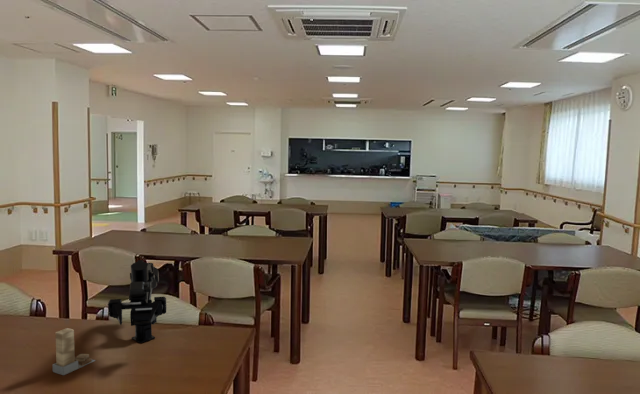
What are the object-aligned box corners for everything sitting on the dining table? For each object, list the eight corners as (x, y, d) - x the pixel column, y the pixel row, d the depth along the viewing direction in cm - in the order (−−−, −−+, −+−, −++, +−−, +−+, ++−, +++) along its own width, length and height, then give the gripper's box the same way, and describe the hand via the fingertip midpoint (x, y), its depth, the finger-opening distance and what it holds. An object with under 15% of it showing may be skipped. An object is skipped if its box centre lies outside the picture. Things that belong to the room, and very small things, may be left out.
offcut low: (83, 359, 162) (83, 355, 162) (91, 361, 160) (91, 358, 160) (73, 363, 159) (73, 359, 159) (82, 365, 157) (82, 362, 157)
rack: (85, 361, 163) (85, 350, 163) (95, 364, 161) (95, 353, 161) (52, 376, 153) (52, 364, 152) (63, 379, 150) (63, 367, 150)
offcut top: (80, 356, 161) (80, 353, 161) (89, 357, 161) (89, 354, 160) (75, 360, 158) (75, 357, 158) (84, 361, 158) (83, 357, 158)
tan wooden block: (68, 366, 156) (67, 327, 155) (74, 368, 155) (73, 329, 154) (56, 371, 153) (55, 332, 151) (63, 373, 151) (61, 334, 150)
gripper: (110, 276, 166) (103, 305, 153) (166, 274, 171) (164, 302, 158) (112, 301, 171) (106, 332, 158) (167, 298, 176) (165, 328, 163)
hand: (135, 322), depth 159 cm, fingers open, 9 cm apart
